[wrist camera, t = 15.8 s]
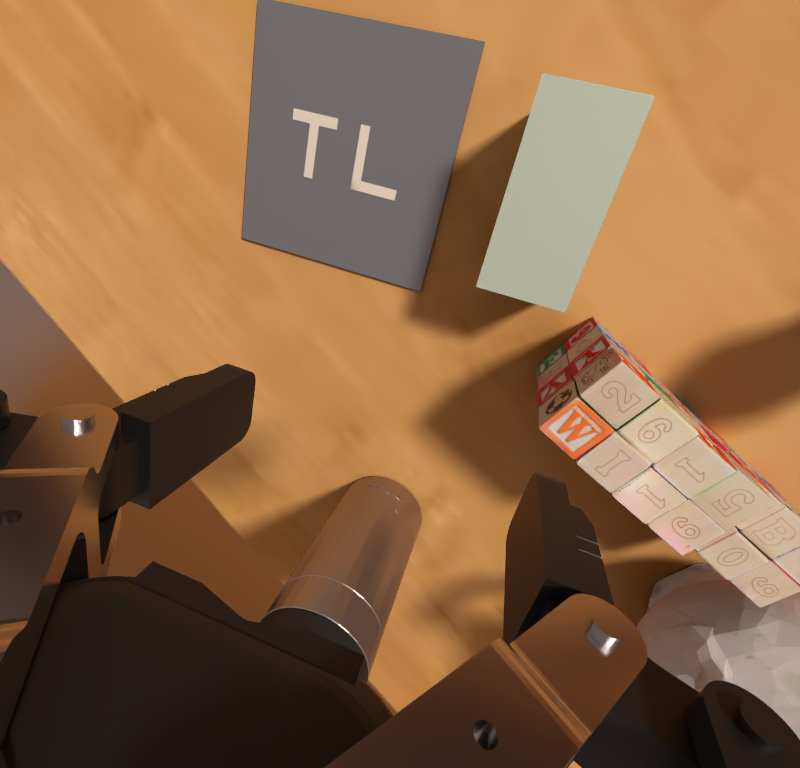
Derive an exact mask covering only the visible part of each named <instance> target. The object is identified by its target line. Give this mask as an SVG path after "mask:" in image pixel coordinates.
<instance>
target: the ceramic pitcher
mask: <svg viewBox="0 0 800 768" xmlns="http://www.w3.org/2000/svg"><path fill="white" fill-rule="evenodd" d="M636 628H637V630H638V631H639V633H640V634H641V636H642V638H643V640H644V642H645V645H646V648H647V655H648V657H649V658H650V659H651V660H652V661H653V662H655V663H656V664H658V665H659V666H660V667H662V668H663V669H665V670H666V671H668V672H669V673H671V674H672V675H674V676H675V677H677V678H678V679H680V680H681V681H683V682H684V683H686V684H687V685H689V686H690V687H692V688H693V689H695V690H696V691H698V692H699V693H700V691H701V690H702V689H703V688H704V687H705V686H706V685H707V684H708V683H709V682H711V681H715V680H722V681H726V682H730V683H733V684H735V685H738V686H740V687H741V688H743V689H745V690H747V691H749V692H750V693H752V694H753V695H755V696H756V697H758V698H759V699H760V700H762V701H763V702H764V703H766V704H767V705H768V706H769V707H770V708H772V709H773V710H774V711H775V712H776V713H777V714H778V715H779V716H780V717H781V718H782V719H783V720H784V721H785V722H786V723H787V724H788V725H789V727H790V728H791V729H792V730H793V731H794V733H795V734H796V735H797V736H798V738H799V739H800V592H798V593H795V594H793V595H790V596H788V597H785V598H783V599H780V600H778V601H776V602H773V603H771V604H769V605H766V606H764V607H761V608H760V607H758V606H757V605H756V604H755V603H754V602H752V601H751V600H750V599H749V598H748V597H747V596H746V595H745V594H744V593H743V592H741V591H740V590H739V589H738V588H737V587H736V586H735V585H734V584H733V583H732V582H731V581H730V580H726V579H725V578H724V577H723V576H721V575H720V574H719V573H718V572H717V571H716V570H715V569H714V568H713V567H711V566H710V565H708V564H700V563H697V564H694V565H692V566H690V567H688V568H685V569H683V570H681V571H678V572H676V573H674V574H672V575H669V576H667V577H665V578H663V579H661V580H659V581H657V582H656V584H655V586H654V588H653V591H652V593H651V596H650V599H649V603H648V607H647V611H646V614H645V615H644V617H643V618H642V619H641V620H640V622H639V623H638V625H637V627H636Z"/></svg>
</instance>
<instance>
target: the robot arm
mask: <svg viewBox="0 0 800 768" xmlns="http://www.w3.org/2000/svg"><path fill="white" fill-rule="evenodd" d="M254 390H255V375H254V374H253V373H252V372H250V371H247V370H244V369H242V368H239V367H236V366H233V365H230V364H225V365H223V366H220V367H218V368H216V369H214V370H211V371H209V372H207V373H205V374H199V375H194V376H188V377H184V378H182V379H179V380H177V381H175V382H172V383H170V384H169V386H167V385H166V386H163V387H161V388H159V389H157V390H156V392H155V391H152V392H150V393H147V394H145V395H143V396H140V397H138V398H136V399H134V400H131V401H129V402H127V403H124V404H122V405H120V406H118V407H115V408H113V409H110V408H108V407H105V406H101V405H94V404H73V405H67V406H62V407H58V408H54V409H52V410H49V411H47V412H45V413H43V414H42V415H41V416H39V417H36V416H29V415H22V414H16V413H10V412H9V406H8V399H7V395H6V394H5V392H3V391H2V390H0V768H568V767H569V765H570V764H571V763H572V762H573V760H574V761H575V762H576V763H577V764H578V765H580V766H581V767H582V768H800V739H799V738H798V736H797V735H796V734H795V733H794V731H793V730H792V729H791V728H790V727H789V725H788V724H787V723H786V722H785V721H784V720H783V719H782V718H781V717H780V716H779V715H778V714H777V713H776V712H775V711H774V710H773V709H772V708H770V707H769V706H768V705H767V704H766V703H764V702H763V701H762V700H760V699H759V698H758V697H756V696H755V695H753V694H752V693H750V692H749V691H747V690H745V689H743V688H741V687H740V686H738V685H735V684H733V683H730V682H726V681H722V680H715V681H711V682H709V683H708V684H707V685H706V686H705V687H704V688H703V689H702V690H701V691H700V693H699V692H698V691H696V690H695V689H693V688H692V687H690V686H689V685H687V684H686V683H684V682H683V681H681V680H680V679H678V678H677V677H675V676H674V675H672V674H671V673H669V672H668V671H666V670H665V669H663V668H662V667H660V666H659V665H658V664H656V663H655V662H653V661H652V660H651V659H650V658H649V657H648V655H647V648H646V645H645V642H644V640H643V638H642V636H641V634H640V633H639V631H638V630H637V628H636V627H635V626H634V624H633V623H632V622H631V621H630V620H629V619H628V618H627V617H626V616H625V615H624V614H623V613H622V612H621V611H620V610H618V609H617V608H616V607H614V603H613V600H612V596H611V592H610V588H609V584H608V581H607V577H606V573H605V569H604V565H603V562H602V559H600V557H601V554H600V550H599V546H598V545H597V539H596V535H595V531H594V527H593V525H592V524H591V522H590V521H589V520H588V518H587V517H586V516H585V514H584V513H583V511H582V510H581V509H579V508H576V507H573V506H571V505H570V504H569V499H568V494H567V489H566V484H565V483H564V482H561V481H559V480H556V479H553V478H550V477H547V476H544V475H541V474H539V473H534V474H533V475H532V477H531V478H530V481H529V483H528V485H527V487H526V489H525V492H524V494H523V496H522V498H521V500H520V503H519V505H518V507H517V509H516V512H515V514H514V516H513V518H512V521H511V524H510V527H509V530H508V534H507V540H506V565H505V597H504V630H503V638H499V639H497V640H495V641H493V642H492V643H490V644H489V645H488V646H486V647H485V648H484V649H482V650H481V651H480V652H478V653H477V654H476V655H474V656H473V657H472V658H470V659H469V660H468V661H466V662H465V663H463V664H462V665H461V666H459V667H458V668H457V669H455V670H454V671H453V672H451V673H450V674H449V675H447V676H446V677H445V678H443V679H442V680H441V681H439V682H438V683H437V684H435V685H434V686H433V687H431V688H430V689H429V690H427V691H426V692H425V693H423V694H422V695H421V696H419V697H418V698H417V699H415V700H414V701H413V702H411V703H410V704H409V705H407V706H406V707H405V708H403V709H402V710H401V711H399V712H398V713H397V714H395V715H394V716H393V715H392V713H391V712H390V710H389V709H388V707H387V706H386V705H385V703H384V702H383V701H382V699H381V698H380V697H379V696H378V695H377V693H376V692H375V691H374V690H373V689H372V688H371V687H370V686H369V685H368V684H367V680H368V677H369V674H370V671H371V669H372V666H373V663H374V660H375V657H376V654H377V651H378V648H379V645H380V642H381V639H382V636H383V633H384V630H385V627H386V624H387V621H388V618H389V616H390V613H391V610H392V607H393V604H394V601H395V598H396V595H397V592H398V589H399V586H400V584H401V581H402V578H403V575H404V572H405V569H406V566H407V563H408V560H409V557H410V554H411V552H412V549H413V546H414V543H415V540H416V537H417V534H418V531H419V528H420V525H421V511H420V508H419V505H418V503H417V501H416V500H415V498H414V497H413V495H412V494H411V493H410V492H409V491H408V490H407V489H406V488H404V487H403V486H401V485H400V484H399V483H396V482H394V481H392V480H390V479H386V478H383V477H365V478H362V479H359V480H358V481H356V482H354V483H353V484H352V485H351V486H350V487H349V488H348V490H347V491H346V493H345V494H344V496H343V497H342V499H341V500H340V502H339V503H338V505H337V506H336V508H335V509H334V511H333V512H332V514H331V515H330V517H329V518H328V520H327V521H326V523H325V524H324V526H323V527H322V529H321V530H320V532H319V533H318V535H317V536H316V538H315V539H314V541H313V543H312V544H311V546H310V547H309V549H308V550H307V552H306V553H305V555H304V556H303V558H302V559H301V561H300V562H299V564H298V565H297V567H296V568H295V570H294V571H293V573H292V574H291V576H290V577H289V579H288V580H287V582H286V584H285V585H284V587H283V588H282V590H281V591H280V593H279V595H278V596H277V598H276V599H275V601H274V602H273V604H272V605H271V607H270V608H269V610H268V611H267V613H266V614H265V616H264V617H263V619H262V620H261V622H260V623H257V622H251V621H247V620H245V619H243V618H242V617H240V616H239V615H238V614H237V613H236V612H234V611H233V610H232V609H231V608H230V607H229V606H227V605H226V604H225V603H224V602H223V601H222V600H221V599H220V598H218V597H217V596H216V595H215V594H214V593H213V592H211V591H210V590H209V589H208V588H207V587H205V585H203V584H202V583H200V582H198V581H196V580H194V579H191V578H189V577H187V576H185V575H182V574H180V573H178V572H176V571H173V570H171V569H169V568H167V567H164V566H162V565H160V564H158V563H156V562H152V563H151V564H150V565H148V566H147V567H146V568H145V569H144V570H143V571H142V572H141V573H140V574H138V575H137V576H136V577H122V576H110V577H107V572H108V569H109V565H110V561H111V557H112V553H113V549H114V545H115V541H116V537H117V533H118V529H119V526H120V522H121V518H122V506H123V505H125V504H126V503H127V502H129V501H131V502H134V503H136V504H138V505H141V506H143V507H146V508H148V509H151V508H152V507H154V506H155V505H156V504H158V503H159V502H160V501H162V500H163V499H164V498H166V497H167V496H168V495H169V494H171V493H172V492H173V491H175V490H176V489H177V488H179V487H180V486H181V485H183V484H184V483H185V482H186V481H188V480H189V479H191V478H192V477H193V476H195V475H196V474H197V473H199V472H200V471H201V470H203V469H204V468H205V467H207V466H208V465H209V464H210V463H212V462H213V461H214V460H216V459H217V458H218V457H220V456H221V455H222V454H224V453H225V452H226V451H228V450H229V449H230V448H232V447H233V446H234V445H236V444H237V443H238V442H240V441H241V440H242V439H243V438H244V436H245V435H246V433H247V431H248V429H249V427H250V423H251V417H252V408H253V399H254Z"/></svg>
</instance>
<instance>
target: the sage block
mask: <svg viewBox="0 0 800 768" xmlns="http://www.w3.org/2000/svg"><path fill="white" fill-rule="evenodd" d="M654 98H655V96H654V95H649V94H644V93H639V92H635V91H630V90H625V89H620V88H615V87H610V86H605V85H600V84H595V83H590V82H585V81H580V80H575V79H570V78H565V77H560V76H555V75H550V74H545V73H542V77H541V80H540V83H539V86H538V89H537V93H536V96H535V99H534V102H533V105H532V109H531V112H530V115H529V118H528V121H527V125H526V128H525V131H524V134H523V137H522V141H521V144H520V147H519V150H518V153H517V157H516V160H515V163H514V166H513V169H512V173H511V176H510V179H509V182H508V185H507V189H506V192H505V195H504V198H503V201H502V205H501V208H500V211H499V214H498V217H497V221H496V224H495V227H494V230H493V233H492V237H491V240H490V243H489V246H488V249H487V253H486V256H485V259H484V262H483V265H482V269H481V272H480V275H479V278H478V281H477V285H476V287H478V288H482V289H485V290H489V291H492V292H495V293H499V294H502V295H506V296H509V297H513V298H516V299H519V300H523V301H526V302H530V303H533V304H537V305H540V306H543V307H547V308H550V309H554V310H557V311H561V312H564V313H565V312H566V310H567V307H568V305H569V302H570V300H571V298H572V295H573V293H574V290H575V288H576V286H577V283H578V281H579V278H580V276H581V274H582V271H583V269H584V266H585V264H586V262H587V259H588V257H589V254H590V252H591V250H592V247H593V245H594V242H595V240H596V238H597V235H598V233H599V230H600V228H601V226H602V223H603V221H604V218H605V216H606V214H607V211H608V209H609V206H610V204H611V202H612V199H613V197H614V194H615V192H616V190H617V187H618V185H619V182H620V180H621V178H622V175H623V173H624V170H625V168H626V166H627V163H628V161H629V158H630V156H631V154H632V151H633V149H634V146H635V144H636V142H637V139H638V137H639V134H640V132H641V130H642V127H643V125H644V122H645V120H646V118H647V115H648V113H649V110H650V108H651V105H652V103H653V101H654Z"/></svg>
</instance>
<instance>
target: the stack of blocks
mask: <svg viewBox="0 0 800 768" xmlns="http://www.w3.org/2000/svg"><path fill="white" fill-rule="evenodd" d="M537 379H538V393H537V398H538V401H537V403H538V409H539V429H540V430H541V431H542V432H543V433H544V434H545V435H546V436H548V437H549V438H550V439H551V440H552V441H553V442H554V443H556V444H557V445H558V446H559V447H560V448H561V449H562V450H563V451H564V452H566V453H567V454H568V455H569V456H570V457H571V458H572V459H575V462H576V464H577V465H578V466H579V467H581V468H582V469H583V470H584V471H585V472H586V473H587V474H589V475H590V476H591V477H592V478H593V479H594V480H596V481H597V482H598V483H599V484H600V485H601V486H603V487H604V488H605V489H606V490H607V491H608V492H610V493H611V495H612V496H613V497H614V498H615V499H616V500H617V501H618V502H619V503H621V504H622V505H623V506H624V507H625V508H627V509H628V510H629V511H630V512H631V513H632V514H633V515H635V516H636V517H637V518H638V519H639V520H640V521H642V522H643V523H645V524H647V525H648V526H649V527H650V529H652V530H653V531H654V532H655V533H656V534H657V535H659V536H660V537H661V538H662V539H663V540H664V541H666V542H667V543H668V544H669V545H670V546H671V547H672V548H674V549H675V550H676V551H677V552H678V553H679V554H680V555H685V554H686V553H688V552H690V551H692V550H694V549H695V551H696V553H697V554H698V555H699V556H701V557H702V558H703V559H704V560H705V561H706V562H707V563H708V564H709V565H710V566H711V567H713V568H714V569H715V570H716V571H717V572H718V573H719V574H720V575H721V576H723V577H724V578H725V579H726V580H730V581H731V582H732V583H733V584H734V585H735V586H736V587H737V588H738V589H739V590H740V591H741V592H743V593H744V594H745V595H746V596H747V597H748V598H749V599H750V600H751V601H752V602H754V603H755V604H756V605H757V606H758V607H760V608H761V607H764V606H766V605H769V604H771V603H773V602H776V601H778V600H780V599H783V598H785V597H788V596H790V595H793V594H795V593H798V592H800V514H799V513H798V512H797V511H796V510H795V509H794V508H793V507H792V506H791V505H790V504H789V503H788V502H787V501H786V500H785V499H784V498H783V497H782V496H781V495H780V494H779V493H778V492H777V491H776V490H775V488H774V487H772V486H771V485H770V484H769V483H768V482H767V481H766V480H765V479H764V478H762V477H761V476H760V474H759V473H758V472H757V471H756V470H755V469H754V468H753V467H752V466H751V465H750V464H749V463H748V462H747V461H746V460H745V459H744V458H743V457H741V456H740V455H739V454H738V453H737V452H736V451H735V450H734V449H733V448H732V447H731V446H730V445H729V444H727V443H726V442H725V441H724V440H723V439H722V438H721V437H720V436H719V435H718V434H717V433H716V432H715V431H714V430H713V429H712V428H711V427H709V426H708V425H707V424H706V423H705V422H704V421H703V420H702V419H701V418H700V417H698V416H696V415H695V414H694V413H693V412H692V411H691V410H690V409H689V408H688V407H687V406H686V405H684V404H683V403H682V402H681V401H680V400H679V399H678V398H677V397H676V396H675V395H674V394H673V393H671V392H670V391H669V390H668V389H667V388H666V387H665V386H664V385H663V384H662V383H661V382H660V381H659V380H658V379H657V378H656V377H654V376H653V375H652V374H651V373H650V372H649V371H648V370H647V369H646V368H645V366H644V365H643V364H642V363H641V362H640V361H639V360H638V359H637V358H636V357H634V356H633V355H632V354H631V353H630V352H629V351H628V350H627V349H626V348H625V347H624V346H623V345H622V344H621V343H620V342H619V341H618V340H617V339H616V338H615V337H614V336H613V335H612V334H611V333H610V332H609V331H608V330H607V329H606V328H604V327H603V326H602V325H601V324H600V323H599V322H598V321H597V320H596V319H595V318H593V317H592V318H591V319H589V320H588V321H587V322H586V323H585V324H584V325H583V326H581V327H580V328H579V329H578V330H577V331H576V332H575V333H574V334H573V335H571V336H570V337H569V338H568V339H567V340H566V341H565V342H564V343H563V344H562V345H561V346H560V347H559V348H558V349H556V350H555V351H554V352H553V353H552V354H551V355H550V356H548V357H547V358H546V359H545V360H544V361H543V362H542V363H540V364H539V365H538V366H537Z"/></svg>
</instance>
